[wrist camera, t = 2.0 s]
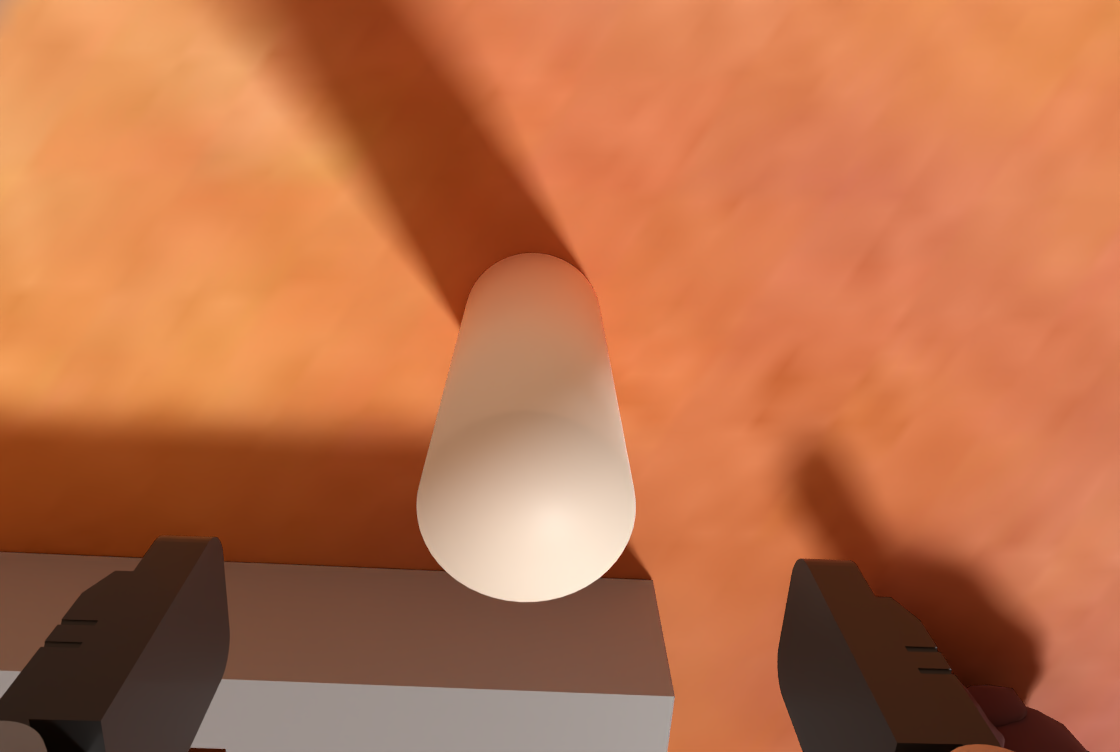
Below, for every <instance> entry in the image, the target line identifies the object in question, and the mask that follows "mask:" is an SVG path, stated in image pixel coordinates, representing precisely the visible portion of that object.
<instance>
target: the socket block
mask: <svg viewBox="0 0 1120 752" xmlns="http://www.w3.org/2000/svg"><path fill="white" fill-rule="evenodd" d="M141 560H142V558H129V557H106V556H83V555H60V554H37V553H14V552H0V698H1V697H2V696H3V695H4V693H5V692H6V691H7V689H8V688H9V687H10V685H11V684H12V683H13V682H14V680H15V679H16V678H17V676H18V675H19V674H20V672H21V671H22V670H23V669H24V667H25V666H26V665H27V663H28V662H29V661H30V659H31V658H32V657H33V656H34V654H35V653H36V652H37V650H38V649H39V648H40V647H44V644H45V640H46V639H47V637H48V636H49V635H50V634H51V632H52V631H53V630H54V628H55V627H56V626H57V625H61V621H62V620H61V619H62V618H63V617H64V615H65V614H66V613H67V611H68V610H69V609H70V608H71V606H72V605H73V604H74V602H75V601H76V600H77V598H78V597H79V596H80V595H81V593H82V592H84V591H85V590H87V589H88V588H90V587H91V586H93V585H94V584H96V583H97V582H99V581H100V580H102V579H103V578H105V577H106V576H108V575H109V574H111V573H112V572H114V571H134V569H135V568H136V567H137V565H138V564H139V562H140V561H141ZM224 569H225V580H226V592H227V604H228V615H229V627H230V644H229V653H228V659H227V664H226V668H225V671H224V675H223V677H222V680H221V682H220V684H219V686H218V688H217V691H216V693H215V695H214V697H213V699H212V701H211V704H210V706H209V708H208V710H207V712H206V714H205V717H204V719H203V721H202V723H201V725H200V728H199V730H198V732H197V734H196V736H195V738H194V741H193V743H192V745H191V747H190V748H214V749H226V752H667V749H668V742H669V734H670V727H671V720H672V712H673V705H674V698H675V696H674V691H673V685H672V680H671V675H670V669H669V664H668V659H667V654H666V648H665V643H664V638H663V633H662V627H661V622H660V617H659V611H658V606H657V601H656V596H655V590H654V585H653V580H636V579H613V578H598V579H597V580H596V581H594V582H593V583H591V584H590V585H588V586H587V587H585V588H583V589H581V590H578V591H576V592H574V593H572V594H569V595H566V596H563V597H560V598H556V599H551V600H546V601H538V602H516V601H507V600H502V599H497V598H493V597H490V596H487V595H484V594H481V593H479V592H477V591H475V590H472V589H470V588H468V587H467V586H465V585H463V584H462V583H460V582H459V581H457V580H456V579H455V578H453V577H452V576H451V575H450V574H448V573H447V572H446V571H428V570H405V569H382V568H359V567H336V566H313V565H290V564H267V563H244V562H224Z"/></svg>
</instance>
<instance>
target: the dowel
mask: <svg viewBox="0 0 1120 752" xmlns="http://www.w3.org/2000/svg"><path fill="white" fill-rule="evenodd" d="M416 507H417V519H418V523H419V528H420V532H421V534H422V537H423V539H424V542H425V544H426V546H427V547H428V549H429V551H430V553H431V554H432V556H433V557H434V558H435V560H436V561H437V562H438V564H439V565H440V566H441V567H442V568H443V569H444V570H445V571H446V572H447V573H448V574H450V575H451V576H452V577H453V578H455V579H456V580H457V581H459V582H460V583H462V584H463V585H465V586H467V587H468V588H470V589H472V590H475V591H477V592H479V593H481V594H484V595H487V596H490V597H493V598H497V599H502V600H507V601H516V602H538V601H546V600H551V599H556V598H560V597H563V596H566V595H569V594H572V593H574V592H576V591H578V590H581V589H583V588H585V587H587V586H588V585H590V584H591V583H593V582H594V581H596V580H597V579H598V578H600V577H601V576H602V575H603V574H604V573H606V572H607V571H608V570H609V569H610V568H611V566H612V565H613V564H614V563H615V562H616V561H617V559H618V558H619V557H620V555H621V554H622V552H623V551H624V549H625V547H626V545H627V543H628V541H629V539H630V536H631V533H632V530H633V526H634V520H635V513H636V500H635V492H634V486H633V481H632V476H631V470H630V465H629V460H628V455H627V449H626V444H625V439H624V433H623V428H622V423H621V418H620V412H619V407H618V402H617V396H616V391H615V386H614V381H613V375H612V370H611V365H610V360H609V354H608V349H607V344H606V338H605V333H604V328H603V323H602V317H601V312H600V307H599V303H598V299H597V296H596V294H595V291H594V289H593V288H592V286H591V284H590V282H589V281H588V280H587V279H586V277H585V276H584V275H583V274H582V273H581V272H580V271H579V270H578V269H577V268H575V267H574V266H573V265H571V264H570V263H568V262H566V261H564V260H562V259H560V258H557V257H555V256H551V255H547V254H541V253H523V254H517V255H513V256H510V257H507V258H505V259H502V260H500V261H499V262H497V263H495V264H493V265H492V266H491V267H489V268H488V269H487V270H486V271H485V272H484V273H483V274H482V275H481V276H480V277H479V278H478V280H477V281H476V282H475V284H474V286H473V287H472V289H471V291H470V294H469V296H468V299H467V303H466V307H465V311H464V314H463V318H462V322H461V326H460V330H459V334H458V338H457V341H456V345H455V349H454V353H453V357H452V361H451V364H450V368H449V372H448V376H447V380H446V384H445V388H444V391H443V395H442V399H441V403H440V407H439V411H438V414H437V418H436V422H435V426H434V430H433V434H432V438H431V441H430V445H429V449H428V453H427V457H426V461H425V464H424V468H423V472H422V476H421V480H420V484H419V488H418V493H417V504H416Z"/></svg>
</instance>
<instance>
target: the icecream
mask: <svg viewBox="0 0 1120 752" xmlns="http://www.w3.org/2000/svg"><path fill="white" fill-rule="evenodd" d="M952 675H953V674H952ZM960 683H961V682H960ZM961 685H962V686H963V688H964V689H965V691H966V692H967V694H968V695H969V697H970V699H971V700H972V702H973V703H974V705H975V706H976V708H977V709H978V711H979V712H980V714H981V716H982V717H983V719H984V720H985V722H986V723H987V725H988V726H989V728H990V730H991V731H992V733H993V734H994V736H995V737H996V739H997V740H998V742H999V743H1000V745H1001V747H1002V748H1005V749H1008V750H1011V751H1014V752H1089V751H1087V750H1086V749H1085V748H1084V747H1083V746H1082V745H1081V744H1080V743H1079V741H1078V740H1077V739H1076V738H1075V737H1074V736H1073V735H1072V734H1071V732H1070V731H1069V730H1068V729H1067V728H1066V727H1065V726H1064V725H1063V724H1061V723H1060V722H1058V721H1056V720H1054V719H1052V718H1050V717H1048V716H1047V715H1045V714H1043V713H1041V712H1039V711H1037V710H1035V709H1032V708H1029V707H1026V706H1025V705H1024V704H1023V702H1022V701H1021V699H1020V698H1019V697H1018V695H1017V694H1016V693H1015V691H1014V690H1013V689H1012V688H1007V687H1000V686H993V685H975V686H970V687H968V688H967V689H966V688H965V686H964V685H963V684H962V683H961Z"/></svg>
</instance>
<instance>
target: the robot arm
mask: <svg viewBox="0 0 1120 752" xmlns="http://www.w3.org/2000/svg"><path fill="white" fill-rule="evenodd" d="M61 620H62V621H61V625H57V626H56V627H55V628H54V630H53V631H52V632H51V634H50V635H49V636H48V637H47V639H46V640H45V644H44V647H40V648H39V649H38V650H37V652H36V653H35V654H34V656H33V657H32V658H31V659H30V661H29V662H28V663H27V665H26V666H25V667H24V669H23V670H22V671H21V672H20V674H19V675H18V676H17V678H16V679H15V680H14V682H13V683H12V684H11V685H10V687H9V688H8V689H7V691H6V692H5V693H4V695H3V696H2V697H1V698H0V752H188V751H189V749H190V747H191V745H192V743H193V741H194V738H195V736H196V734H197V732H198V730H199V728H200V725H201V723H202V721H203V719H204V717H205V714H206V712H207V710H208V708H209V706H210V704H211V701H212V699H213V697H214V695H215V693H216V691H217V688H218V686H219V684H220V682H221V680H222V677H223V675H224V671H225V668H226V664H227V659H228V653H229V644H230V627H229V615H228V604H227V592H226V580H225V569H224V557H223V549H222V545H221V542H220V540H219V539H218V538H217V537H199V536H170V535H161V536H159V537H158V538H157V539H156V540H155V541H154V543H153V544H152V545H151V547H150V548H149V550H148V551H147V552H146V554H145V555H144V557H143V558H142V560H141V561H140V562H139V564H138V565H137V567H136V568H135V569H134V571H114V572H112V573H111V574H109V575H108V576H106V577H105V578H103V579H102V580H100V581H99V582H97V583H96V584H94V585H93V586H91V587H90V588H88V589H87V590H85V591H84V592H82V593H81V595H80V596H79V597H78V598H77V600H76V601H75V602H74V604H73V605H72V606H71V608H70V609H69V610H68V611H67V613H66V614H65V615H64V617H63V618H62V619H61ZM778 678H779V685H780V690H781V694H782V697H783V699H784V702H785V705H786V707H787V710H788V713H789V716H790V718H791V721H792V724H793V726H794V729H795V732H796V734H797V737H798V740H799V742H800V745H801V748H802V751H803V752H1014V751H1011V750H1008V749H1005V748H1002V747H1001V745H1000V743H999V742H998V740H997V739H996V737H995V736H994V734H993V733H992V731H991V730H990V728H989V726H988V725H987V723H986V722H985V720H984V719H983V717H982V716H981V714H980V712H979V711H978V709H977V708H976V706H975V705H974V703H973V702H972V700H971V699H970V697H969V695H968V694H967V692H966V691H965V689H964V688H963V686H962V685H961V683H960V681H959V680H958V678H957V677H956V675H952V673H951V667H950V666H949V664H948V663H947V661H946V660H945V658H944V657H943V655H942V654H941V652H938V651H937V646H936V644H935V643H934V641H933V640H932V638H931V636H930V635H929V633H928V632H927V630H926V629H925V627H924V626H923V624H922V623H921V621H920V620H919V619H918V618H916V617H915V616H914V615H913V614H911V613H910V612H909V611H908V610H906V609H905V608H904V607H902V606H901V605H900V604H899V603H897V602H896V601H895V600H894V599H892V598H891V597H875V595H874V594H873V592H872V590H871V589H870V587H869V585H868V584H867V582H866V580H865V579H864V577H863V575H862V573H861V572H860V570H859V568H858V567H857V565H856V564H855V563H854V562H853V561H851V560H823V559H799V560H797V561H796V563H795V565H794V568H793V571H792V575H791V581H790V587H789V592H788V598H787V603H786V609H785V614H784V620H783V625H782V631H781V637H780V642H779V648H778Z"/></svg>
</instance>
